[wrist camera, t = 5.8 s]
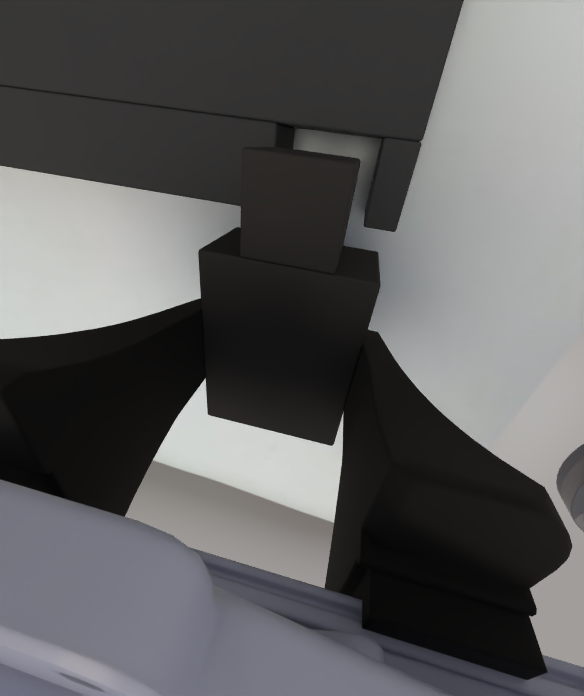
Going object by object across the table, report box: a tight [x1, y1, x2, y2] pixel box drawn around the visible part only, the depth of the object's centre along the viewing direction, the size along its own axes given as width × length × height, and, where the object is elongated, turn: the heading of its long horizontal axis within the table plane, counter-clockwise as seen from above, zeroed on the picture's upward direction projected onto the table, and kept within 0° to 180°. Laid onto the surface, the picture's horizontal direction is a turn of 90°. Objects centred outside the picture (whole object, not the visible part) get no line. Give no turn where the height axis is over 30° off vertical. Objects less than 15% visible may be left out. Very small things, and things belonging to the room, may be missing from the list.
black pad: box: [198, 147, 380, 446], centre depth 10 cm, size 5×9×3 cm, turn 174°
